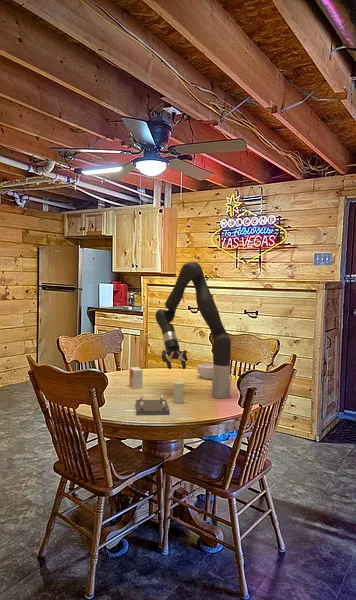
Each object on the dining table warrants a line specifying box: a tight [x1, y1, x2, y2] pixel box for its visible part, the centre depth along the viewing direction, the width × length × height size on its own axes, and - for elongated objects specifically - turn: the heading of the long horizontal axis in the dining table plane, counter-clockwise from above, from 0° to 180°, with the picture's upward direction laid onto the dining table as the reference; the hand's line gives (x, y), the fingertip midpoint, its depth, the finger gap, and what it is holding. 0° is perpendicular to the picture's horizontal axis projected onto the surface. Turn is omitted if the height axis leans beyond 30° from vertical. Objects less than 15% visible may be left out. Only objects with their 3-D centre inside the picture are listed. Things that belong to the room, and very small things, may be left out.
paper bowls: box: [196, 363, 213, 380], centre depth 266 cm, size 15×15×8 cm
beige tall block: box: [172, 380, 185, 405], centre depth 212 cm, size 4×5×10 cm
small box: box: [128, 366, 144, 390], centre depth 239 cm, size 8×6×10 cm
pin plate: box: [135, 394, 170, 416], centre depth 199 cm, size 15×17×5 cm
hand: (177, 368), depth 220 cm, fingers open, 8 cm apart
